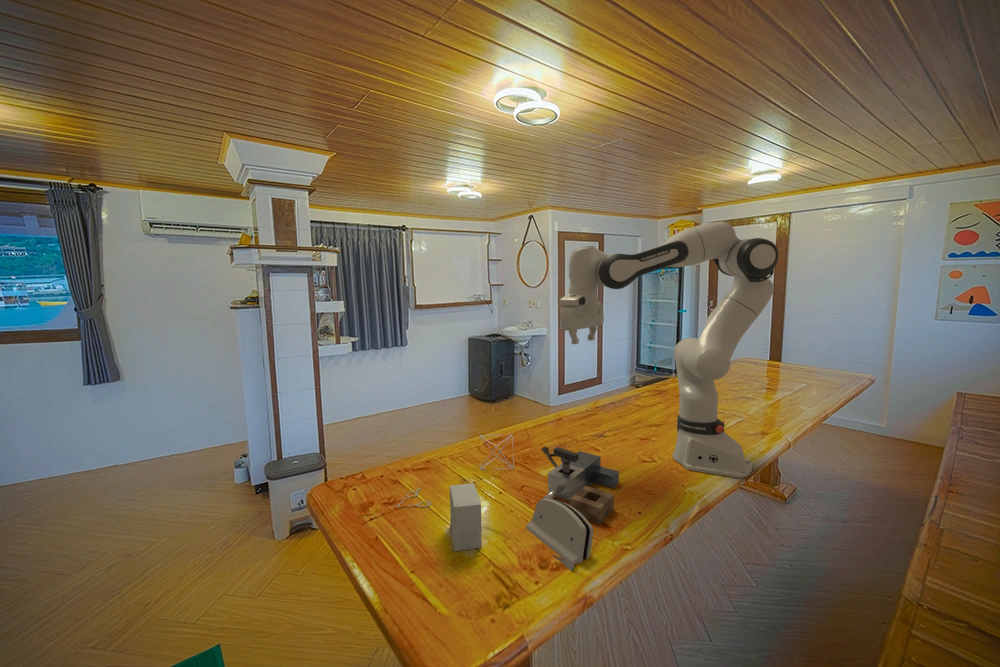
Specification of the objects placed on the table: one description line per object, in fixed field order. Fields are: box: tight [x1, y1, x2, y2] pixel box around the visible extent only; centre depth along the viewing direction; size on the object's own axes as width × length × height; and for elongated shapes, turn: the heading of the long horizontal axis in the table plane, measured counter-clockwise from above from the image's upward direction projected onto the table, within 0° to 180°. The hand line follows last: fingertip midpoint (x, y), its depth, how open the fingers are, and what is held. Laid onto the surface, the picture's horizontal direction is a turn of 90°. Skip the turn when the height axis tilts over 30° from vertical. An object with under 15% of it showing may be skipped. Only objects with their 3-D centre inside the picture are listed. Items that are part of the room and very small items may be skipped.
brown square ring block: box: [569, 486, 615, 525], centre depth 103 cm, size 8×8×5 cm
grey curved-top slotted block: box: [525, 498, 594, 571], centre depth 92 cm, size 17×5×10 cm, turn 33°
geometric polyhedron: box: [479, 434, 515, 471], centre depth 133 cm, size 12×11×9 cm
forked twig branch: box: [541, 446, 559, 469], centre depth 135 cm, size 24×10×2 cm, turn 11°
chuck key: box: [553, 446, 579, 475], centre depth 112 cm, size 3×7×11 cm, turn 43°
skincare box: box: [449, 482, 483, 552], centre depth 96 cm, size 10×6×10 cm, turn 12°
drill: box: [542, 450, 620, 502], centre depth 112 cm, size 25×13×7 cm, turn 142°
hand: (583, 342), depth 132 cm, fingers open, 8 cm apart
